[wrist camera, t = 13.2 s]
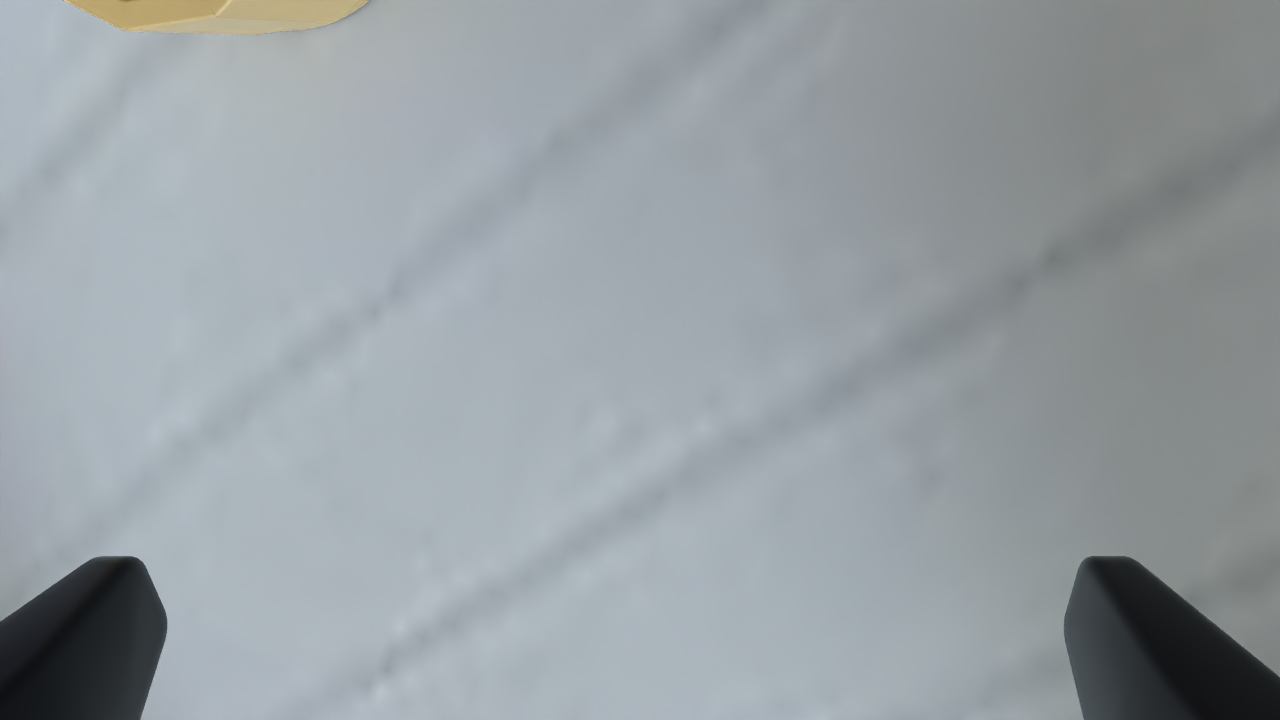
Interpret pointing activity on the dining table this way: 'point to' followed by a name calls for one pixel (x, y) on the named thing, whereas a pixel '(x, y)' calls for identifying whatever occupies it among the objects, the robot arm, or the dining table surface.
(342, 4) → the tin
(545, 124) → the dining table surface
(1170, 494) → the dining table surface
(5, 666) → the robot arm
